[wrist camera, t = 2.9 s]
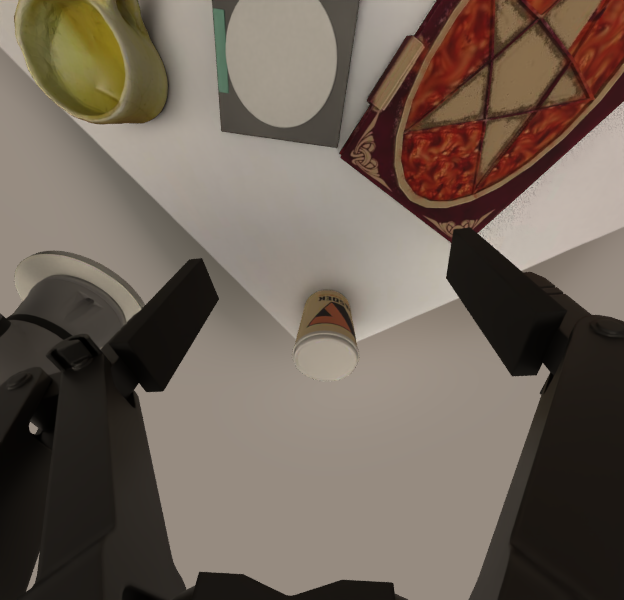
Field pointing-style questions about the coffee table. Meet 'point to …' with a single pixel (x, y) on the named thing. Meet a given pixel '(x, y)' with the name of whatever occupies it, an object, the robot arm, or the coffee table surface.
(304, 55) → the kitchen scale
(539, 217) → the coffee table surface
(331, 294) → the coffee cup
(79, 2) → the mug
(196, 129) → the coffee table surface
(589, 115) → the book
